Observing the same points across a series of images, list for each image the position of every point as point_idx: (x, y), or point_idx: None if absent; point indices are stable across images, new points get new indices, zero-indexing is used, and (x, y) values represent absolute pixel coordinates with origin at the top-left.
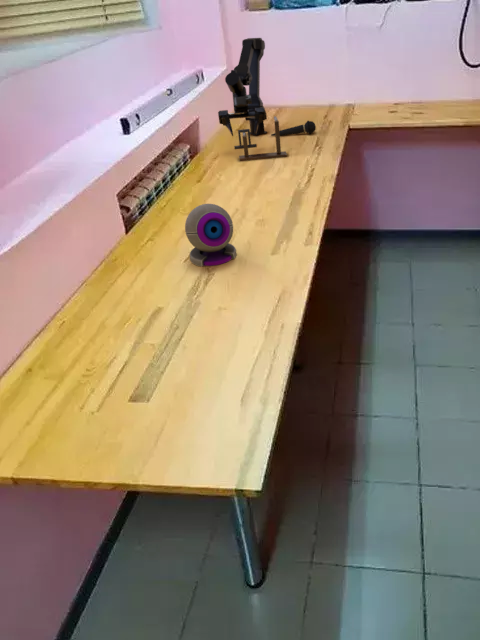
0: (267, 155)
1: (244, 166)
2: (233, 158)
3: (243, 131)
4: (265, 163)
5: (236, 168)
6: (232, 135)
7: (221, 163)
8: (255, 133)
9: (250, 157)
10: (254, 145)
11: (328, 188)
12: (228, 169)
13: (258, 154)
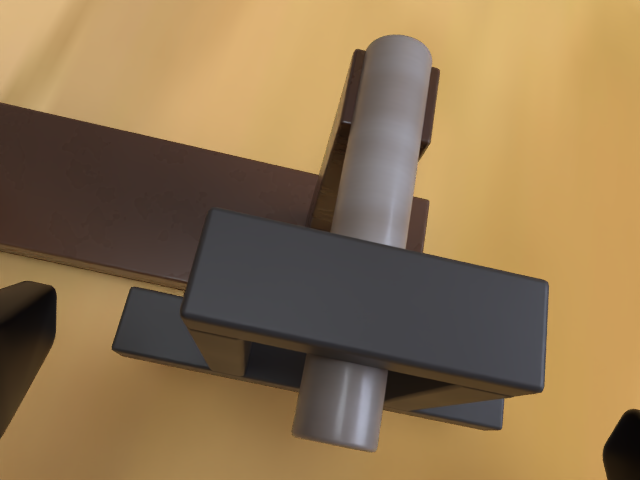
0: (73, 144)
1: (403, 31)
2: None
3: (388, 257)
4: (181, 6)
5: (485, 18)
6: (628, 425)
7: (621, 242)
8: (45, 308)
9: (294, 176)
10: (168, 294)
11: None
12: (559, 30)
13: (161, 244)
